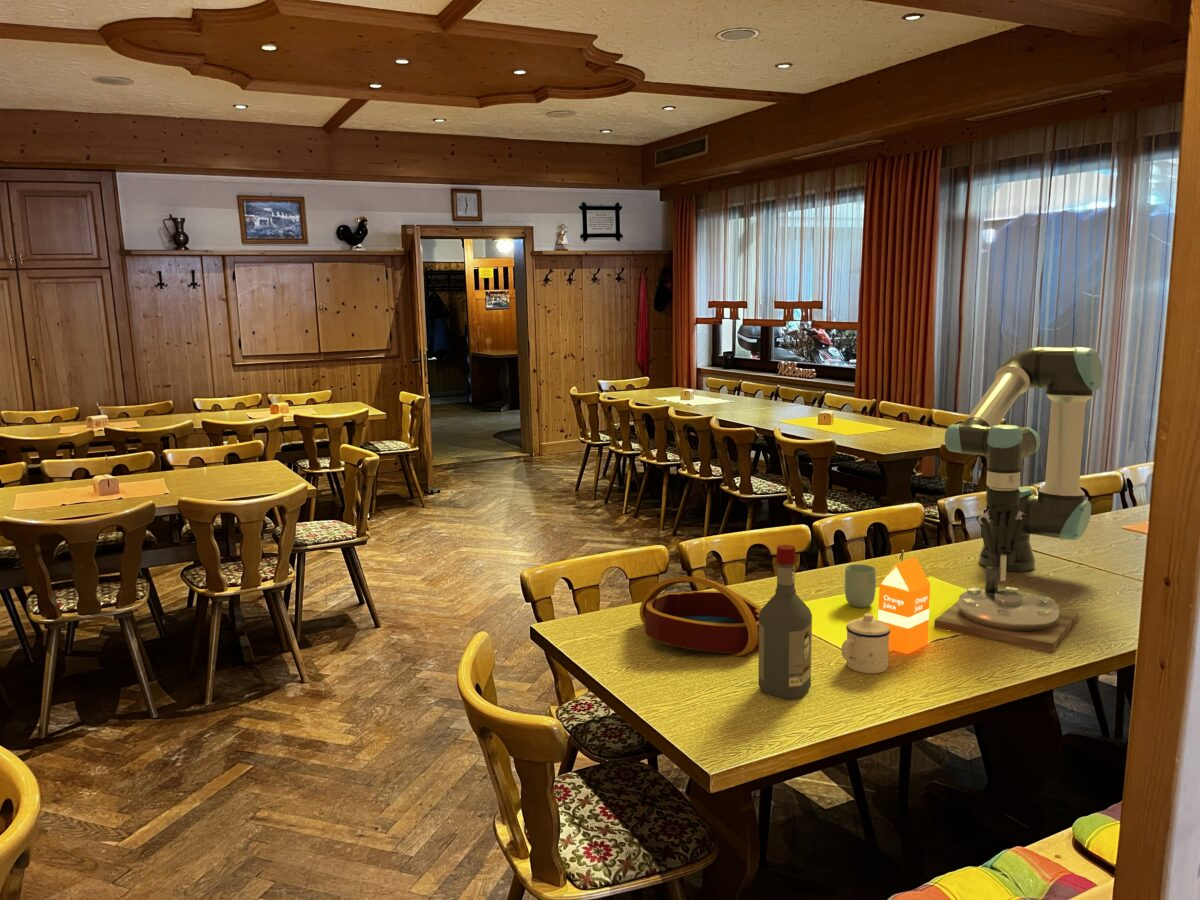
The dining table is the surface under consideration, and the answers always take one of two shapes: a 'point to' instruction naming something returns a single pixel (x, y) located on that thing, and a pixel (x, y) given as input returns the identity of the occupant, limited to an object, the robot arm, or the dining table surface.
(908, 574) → the orange juice
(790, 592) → the liquor
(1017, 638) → the base plate
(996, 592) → the crank wheel
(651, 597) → the decorative basket
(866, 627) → the teacup with lid
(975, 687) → the dining table surface
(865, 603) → the cup
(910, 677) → the dining table surface
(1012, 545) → the robot arm
